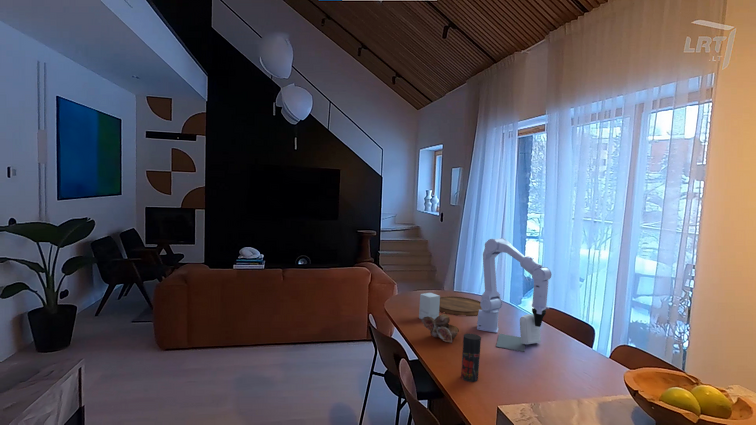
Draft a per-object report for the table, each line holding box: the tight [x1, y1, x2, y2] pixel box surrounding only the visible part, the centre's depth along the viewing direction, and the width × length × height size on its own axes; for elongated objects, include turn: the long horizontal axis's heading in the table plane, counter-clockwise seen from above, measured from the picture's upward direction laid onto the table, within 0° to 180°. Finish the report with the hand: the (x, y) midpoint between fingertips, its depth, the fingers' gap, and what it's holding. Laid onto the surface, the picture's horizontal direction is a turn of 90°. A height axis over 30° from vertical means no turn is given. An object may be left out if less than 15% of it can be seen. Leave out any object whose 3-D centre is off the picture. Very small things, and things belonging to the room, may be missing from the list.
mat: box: [495, 333, 526, 353], centre depth 182 cm, size 12×17×1 cm
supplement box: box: [418, 292, 441, 320], centre depth 209 cm, size 7×7×13 cm
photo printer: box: [519, 313, 542, 345], centre depth 182 cm, size 10×4×12 cm, turn 124°
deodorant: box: [460, 333, 482, 383], centre depth 145 cm, size 6×6×15 cm
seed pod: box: [420, 313, 460, 344], centre depth 183 cm, size 13×16×15 cm
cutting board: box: [439, 295, 482, 317], centre depth 233 cm, size 32×32×2 cm
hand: (537, 326), depth 179 cm, fingers closed
